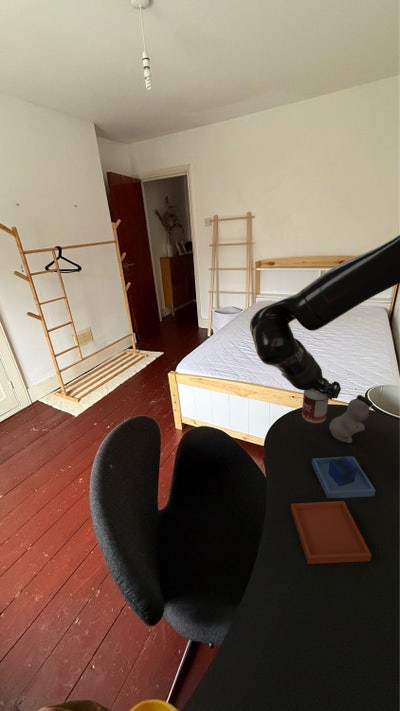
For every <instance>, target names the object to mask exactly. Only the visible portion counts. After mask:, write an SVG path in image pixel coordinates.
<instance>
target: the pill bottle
mask: <svg viewBox="0 0 400 711" xmlns="http://www.w3.org/2000/svg"><path fill="white" fill-rule="evenodd" d="M324 378H325V379H326V380H327V381H329V380H328V379H327V378H326V377H324ZM327 390H328V388H327V389H326V392H327ZM329 400H330V399H328V397H327V396H326V395H325V394H321V393H318V392H317V391H315V390H312V389H310V390H303V398H302V407H301V408H302V409H301V416H302V418H303V419H304V420H305V421H306V422H309V423H311V424H321V423H323V422H324V421H326V419H327V415H328V414H327V413H328V407H329Z"/></svg>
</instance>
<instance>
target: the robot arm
mask: <svg viewBox="0 0 400 711" xmlns="http://www.w3.org/2000/svg"><path fill="white" fill-rule="evenodd" d="M399 284H400V234H399V235H397V236H395V237H394V238H391V240H388V241H387V242H385V243H383V244H381V245H380V246H377V247H375V248H373V249H371V250H369V251H367V252H364V253H362V254H359V255H357V256H354V257H352V258H349V259H347V260H345V261H343V262H341V263H338V264H337V265H336V266H334V267H332V268H330V269H328V270H327V271H326V272H324V273H322V274H321V275H320V276H319V277H317V278H315V280H313V281H311V282H310V283H309V284H307V285H306V286H305V287H304V288H302V289H301V290H300V291H298V292H297V293H295V294H293V295H290V296H288V297H285V298H283V299H279V300H278V301H276V302H273V303H271V304H268V305H266V306H263V307H262V308H260V309H258V310H257V311H256V312H255V313H254V314H253V316H252V318H251V319H250V322H249V330H250V335H251V337H252V341H253V344H254V348H255V351H256V354H257V356H258V358H259V360H260V361H261V362H262V363H263V364H264V365H266V366H270V367H273V368H276V369H277V370H278V371H279V372H280V374H281V376H282V377H283V378H285V379H286V381H288V382H289V383H290V385H292V386H293V387H294V388H296V389H297V390H299V391H304V390H310V389H312V390H315V391H317V392H318V393H321V394H325V395H326V396H327V397H328V399H329V400H334V399H338V398H339V396H340V393H341V390H342V387H341V384H340V382H338V381H332V382H330V381H329V380H328V379H327V378H326V377H323V376H324V375H323V370H322V368H321V366H320V364H319V363H318V362H317V360H316V359H315V357H314V356H313V355H312V353H310V352H309V351H308V349H307V348H306V347H305V345H304V344H303V343H302V342H301V340H299V339H297V338H296V337H295V335H294V332H293V330H292V327H291V325H290V323H291V322H293V321H297V322H298V323H299V325H301V326H302V327H303V328H304V329H305V330H308V331H310V332H314V331H318V330H320V329H322V328H324V327H325V326H327V325H329V324H330V323H332V322H334V321H335V320H337V319H338V318H340V317H342V316H343V315H344V314H346V313H348V312H350V311H351V310H352V309H354V308H356V307H357V306H359V305H361V304H363V303H365V302H367V301H368V300H370V299H371V298H374V297H375V296H377V295H378V294H381V293H383V292H385V291H386V290H388V289H391V288H392V287H395V286H397V285H399ZM325 378H326V379H327V380H328V381H327V380H326V379H325ZM327 388H328V390H327V392H326V389H327Z"/></svg>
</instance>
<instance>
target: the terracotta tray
mask: <svg viewBox="0 0 400 711" xmlns="http://www.w3.org/2000/svg"><path fill="white" fill-rule="evenodd" d="M290 511H291V514H292V517H293V522H294V525H295V527H296V531H297V534H298V538H299V540H300V543H301V547H302V550H303V552H304V556H305V560H306V563H307V565H319V564H336V563H337V564H338V563H339V564H340V563H357V562H358V563H359V562H370V561H371V557H372V552H370V550H369V547H368V546H367V543H366V541H365V539H364V537H363V536H362V534H361V531H360V529H359V528H358V526H357V524H356V522H355V519H354V518H353V516H352V514H351V512H350V510H349V508H348V505H347V504H346V502H345V500H337V501H318V502H317V501H316V502H297V503H291V504H290Z"/></svg>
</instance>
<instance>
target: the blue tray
mask: <svg viewBox="0 0 400 711" xmlns="http://www.w3.org/2000/svg"><path fill="white" fill-rule="evenodd" d="M342 457H343V456H333V457H332V456H331V457H316V458H315V457H314V458H312V459H311V466H312V469H313V470H314V472H315V474H316V476H317V478H318V481H319V483H320V486H321V488H322V490H323V492H324V494H325V497H326V498H327V499H330V500H331V499H348V498H349V499H350V498H367V497H375V495H376V489H375V487H374V486H373V484H372V482H371V481H370V480H369V478H368V476H367V475H366V472H364V470H363V468H362V467H361V465H360V464H359V462H358V461H357V459H356V458H355V456H353V455H352V456H349V455H348V456H344V457H345V458H346V459H347V460H348V461H349V462H350V463H351V464H352V465H353V466H354V467H355V468H356V469H357V471H356V476H355V481H354V482H352V483H349V484H346V485H342V486H339V485H338V484H337V483H336V482H335V481H334V479H333V478H332V477H331V476H330V475H329V474H328V472H329V465H330V461H332V460H336V459H339V458H342Z"/></svg>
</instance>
